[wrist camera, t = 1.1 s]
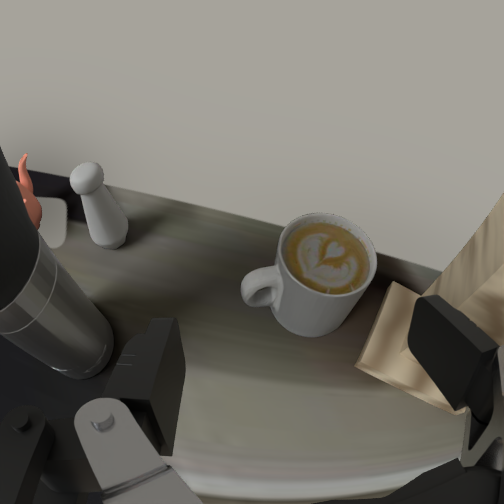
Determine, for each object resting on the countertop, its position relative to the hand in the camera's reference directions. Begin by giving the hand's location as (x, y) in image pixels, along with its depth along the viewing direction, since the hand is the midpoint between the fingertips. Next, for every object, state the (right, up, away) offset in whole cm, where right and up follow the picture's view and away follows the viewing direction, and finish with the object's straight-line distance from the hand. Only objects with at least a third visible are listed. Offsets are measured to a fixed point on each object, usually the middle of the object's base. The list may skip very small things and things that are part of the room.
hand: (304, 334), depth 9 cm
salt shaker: (-22, +4, +32) cm, 39 cm away
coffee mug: (+4, -3, +27) cm, 28 cm away
